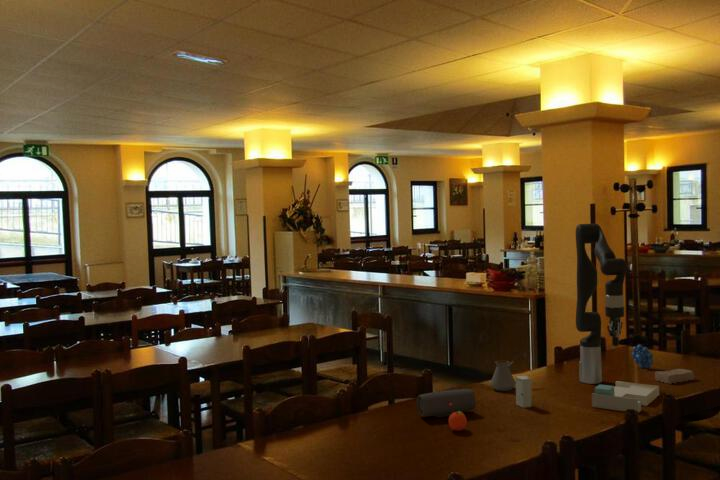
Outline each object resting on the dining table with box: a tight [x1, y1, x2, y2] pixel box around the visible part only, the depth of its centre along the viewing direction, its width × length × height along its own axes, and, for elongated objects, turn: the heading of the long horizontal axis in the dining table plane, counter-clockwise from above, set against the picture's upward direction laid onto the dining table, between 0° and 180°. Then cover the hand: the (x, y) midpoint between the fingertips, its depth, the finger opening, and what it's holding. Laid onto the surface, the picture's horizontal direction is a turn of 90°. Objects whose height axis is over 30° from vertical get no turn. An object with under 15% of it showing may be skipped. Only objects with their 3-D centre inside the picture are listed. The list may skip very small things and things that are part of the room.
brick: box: [654, 368, 695, 385], centre depth 307 cm, size 17×8×5 cm, turn 113°
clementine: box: [448, 411, 468, 432], centre depth 249 cm, size 8×7×7 cm
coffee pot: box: [490, 351, 527, 392], centre depth 307 cm, size 21×12×15 cm, turn 125°
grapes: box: [631, 344, 655, 369], centre depth 333 cm, size 12×7×12 cm, turn 36°
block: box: [594, 383, 615, 396], centre depth 271 cm, size 6×6×4 cm
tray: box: [591, 380, 660, 414], centre depth 277 cm, size 18×31×6 cm, turn 141°
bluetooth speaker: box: [416, 388, 477, 418], centre depth 268 cm, size 23×9×10 cm, turn 105°
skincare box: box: [515, 375, 532, 409], centre depth 277 cm, size 6×4×12 cm
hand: (615, 345), depth 279 cm, fingers closed
